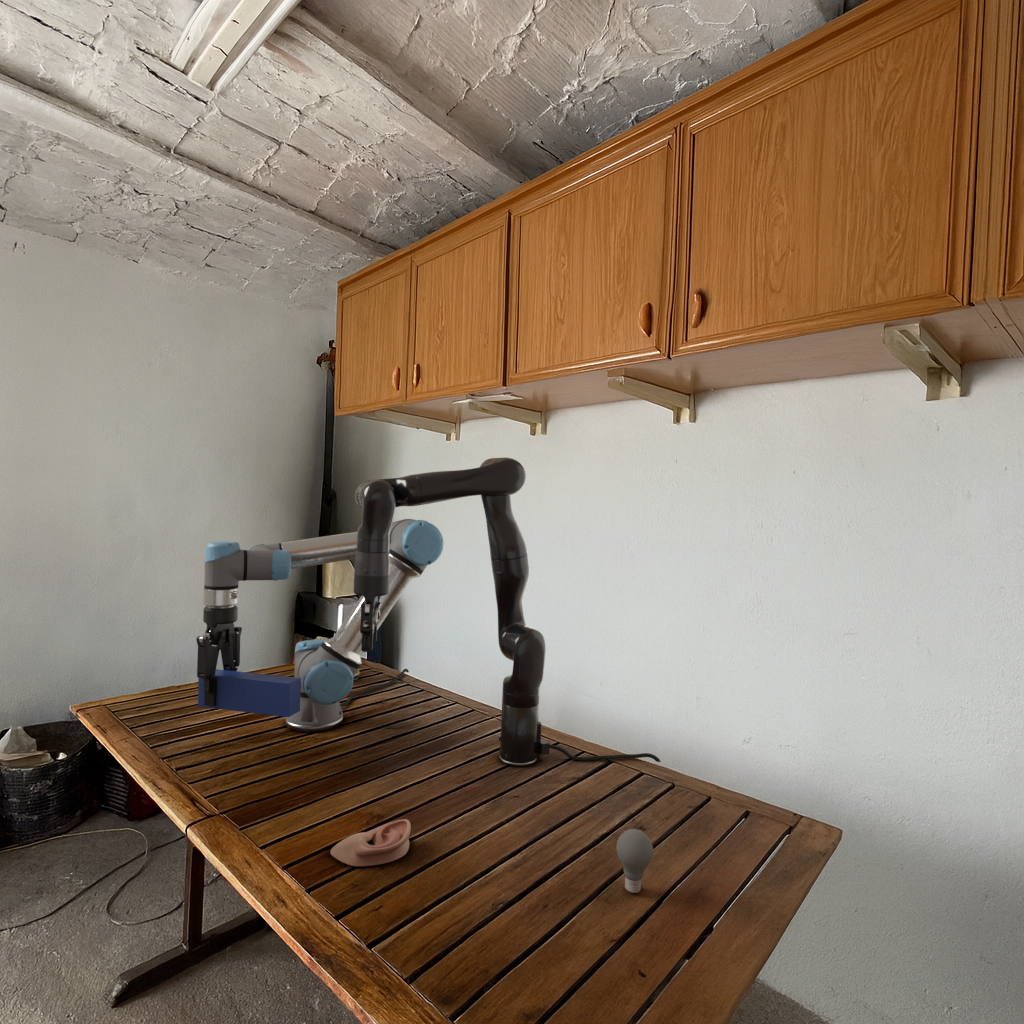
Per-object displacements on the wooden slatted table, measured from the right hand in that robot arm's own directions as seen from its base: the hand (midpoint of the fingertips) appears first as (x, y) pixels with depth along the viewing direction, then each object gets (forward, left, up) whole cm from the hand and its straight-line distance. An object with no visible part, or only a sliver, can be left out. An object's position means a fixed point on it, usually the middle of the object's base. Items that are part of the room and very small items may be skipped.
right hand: (369, 646), depth 137 cm
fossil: (-10, -83, -31) cm, 89 cm away
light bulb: (-32, +53, -31) cm, 69 cm away
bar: (+21, -26, -19) cm, 39 cm away
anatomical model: (+5, +24, -31) cm, 40 cm away
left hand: (+28, -32, -19) cm, 46 cm away
